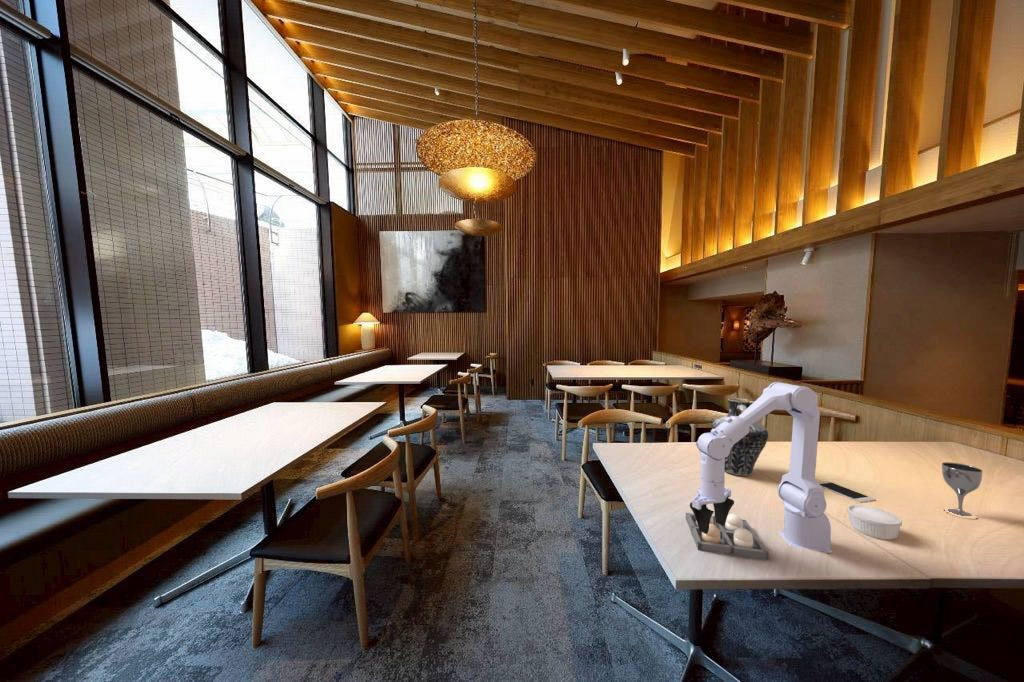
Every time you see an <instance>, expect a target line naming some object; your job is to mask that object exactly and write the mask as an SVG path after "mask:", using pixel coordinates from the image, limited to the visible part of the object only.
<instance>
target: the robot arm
mask: <svg viewBox="0 0 1024 682" xmlns="http://www.w3.org/2000/svg"><path fill="white" fill-rule="evenodd" d="M818 399H819V395H818V394H817V393H816V392H815V391H814V390H813V389H811V388H810V387H808V386H803V385H802V386H801V385H796V384H790V383H787V382H786V383H784V382H781V381H774V382H772V383H771V384H769V385H768V386H767V387H765V388H763V390H762V394H761V395H760V396H759V397H757V399H756V400H755V401H754V403H753V404H751V405H750V406H749V407H748V408H747V409H746V410H745V411H744V412H743V413H742V414H740V415H739V416H730V417H726V418H725V419H724V420H725V421H724V422H723V423H721V424H720V425H719V426H717V427H716V428H715V429H712V428H711V430H710V432H704V433H702V434H701V435H700V436H699V437H698V439H697V441H696V442H695V446H696V448H697V450H698V451H699V455H700V477H699V479H700V482H699V484H700V488H698V489H696V492H697V493H698V494H697V495H696V496H695V497H694V498H692V500H691V502H690V503H689V508H690V509H691V511H692V512H693V513H692V514H694V515H695V517H696V520H697V524H698V528H699V531H701V532H703V533H705V534H707V533H708V531H709V523H710V519H711V516H713V514H714V516H715V521H716V523H718V524H720V525H722V526H724V525H725V523H726V519H727V516H728V515H729V514H730V510H731V509H732V507H733V506H734V505H735V500H734V499H732V498H731V497H732V489H729V488H727V487H726V485H725V475H726V474H725V472H726V471H725V457H728V455H729V453H730V450H731V448H732V447H733V445H734V444H735V443H736V442H738V441H739V440H740V439H742V438H743V437H744V436H746V435H747V434H748V433H749V426H750V425H752V424H753V423H755V422H758V421H759V420H761V419H762V418H765V416H767V415H768V414H770V413H771V412H773V411H786V412H787V413H788V414H790V416H792V417H793V418H792V420H793V421H792V433H791V434H792V435H791V444H790V445H791V446H790V459H789V471H788V472H787V473H785V474H782V475H781V481H780V483H779V485H778V487H777V494H778V497H779V498H780V499H781V500H782V505H783V506H784V509H783V510H784V511H783V513H784V515H783V530H777V532H778V533H779V535H780V536H781V537H782V538H783V540H784V541H785V543H786V544H788V545H789V547H792V548H798V549H807V550H814V551H822V552H825V553H826V554H827V553H828V554H832V553H833V551H832V550H831V542H832V541H831V539H832V538H831V535H832V533H831V532H832V528H831V522H830V519H829V518H828V515H826V514H825V512H826V509H827V505H828V504H827V501H826V498H825V489H824V488H822V486H821V485H820V484H819V483H818V482H819V481H818V480H817V479H816V472H817V471H816V469H817V456H818V455H817V454H818V445H819V444H818V441H819V430H820V429H819V428H820V418H821V417H820V416H821V415H820V414H821V413H820V409H819V407H818V405H819V403H818V402H819V400H818ZM709 504H710V505H711V504H712V505H713V510H714V511H713V510H712V509H709V508H708V506H707V505H709Z"/></svg>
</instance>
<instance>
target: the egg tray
mask: <svg viewBox="0 0 1024 682" xmlns="http://www.w3.org/2000/svg"><path fill="white" fill-rule="evenodd" d="M712 517H713V525H715V526H716V527H717V528H718V529H719V531H720V544H716V543H709V542H702V532H701V531H699V528H698V527H697V526H696V517H695V515H694V513H690V512H686V513H685V520H686V523H687V525H688V528H689V530H690V533H691V536H692V538H693V539H692V540H693V541H694V544H695V547H696V549H697V550H698V551H703V552H709V553H717V554H722V555H723V554H724V555H731V556H737V557H744V558H749V559H751V558H752V559H756V560H765V561H769V556H770V554H769V551H768V550H767V549H766V547H765V546H764V545H763V542H762V541H761V540H760V538H759V537H758V535H757V534H756V533H755V531H754V530H753V528H752V527H751V525H750V524H749V523H748V521H747V519H742V521H743V528H745V529H747V530H748V531H750V533H751V534H752V536H753V549H752V548H744V547H737V546H734V531H727V530H725V525H724V526H722V525H720V524H718V523H716V521H715V515H712Z"/></svg>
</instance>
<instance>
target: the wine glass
mask: <svg viewBox="0 0 1024 682" xmlns="http://www.w3.org/2000/svg"><path fill="white" fill-rule="evenodd" d="M941 474H942V477H943V480H944V482H945V483H946V485H948V486H949V488H951V489H952V490H953V492H954V493H955V494H956V496H957V503H958V504H957V505H958V508H953V509H948V511H949V512H952V513H954V514H957V515H961V516H972V515H971V514H972V513H971V512H969V511H966V512H965V511H964V510H963V504H964V499H965V497H966V496H967V495H968V494H971V493H972V492H974V491H976V490H978V489H979V488H980V486H981V483H982V481H983V470H982V469H981V468H979V467H977V466H973V465H969V464H965V463H964V464H963V463H958V462H950V461H946V462H945V461H944V462H942V463H941ZM968 512H969V513H968ZM970 513H971V514H970Z"/></svg>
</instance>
